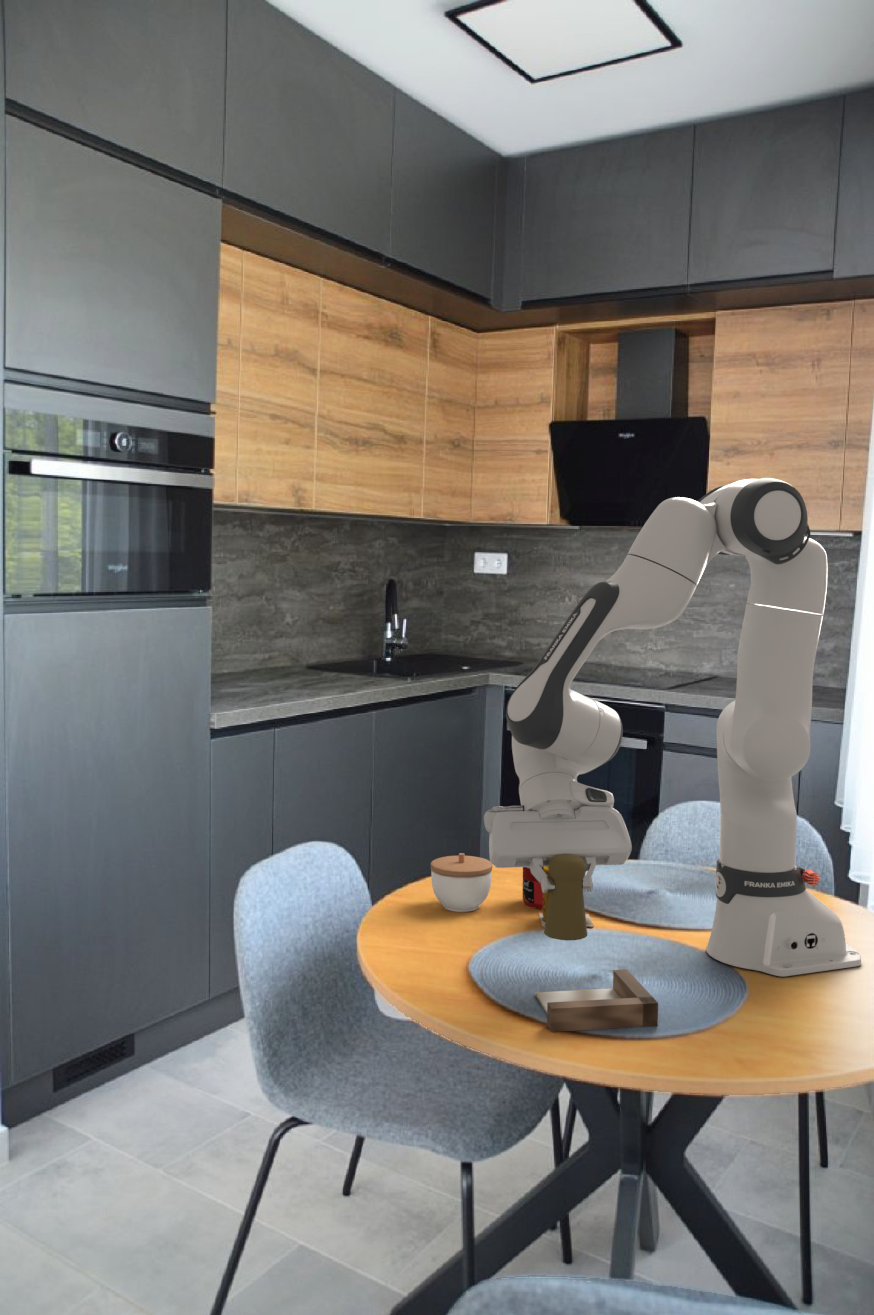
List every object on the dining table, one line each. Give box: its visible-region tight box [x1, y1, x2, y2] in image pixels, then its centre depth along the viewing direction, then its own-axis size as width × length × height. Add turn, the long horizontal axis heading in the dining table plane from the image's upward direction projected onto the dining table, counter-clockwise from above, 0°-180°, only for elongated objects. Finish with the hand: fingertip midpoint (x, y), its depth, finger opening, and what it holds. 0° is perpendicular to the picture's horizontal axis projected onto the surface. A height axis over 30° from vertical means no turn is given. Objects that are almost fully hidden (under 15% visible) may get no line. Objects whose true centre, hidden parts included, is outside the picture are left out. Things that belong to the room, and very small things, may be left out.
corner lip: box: [535, 968, 659, 1033], centre depth 141 cm, size 14×12×3 cm
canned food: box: [522, 867, 544, 910], centre depth 188 cm, size 8×8×11 cm
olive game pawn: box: [543, 854, 588, 941], centre depth 148 cm, size 6×6×11 cm
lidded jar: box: [430, 852, 493, 913], centre depth 186 cm, size 11×11×9 cm
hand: (568, 890), depth 148 cm, fingers closed on olive game pawn, 4 cm apart
